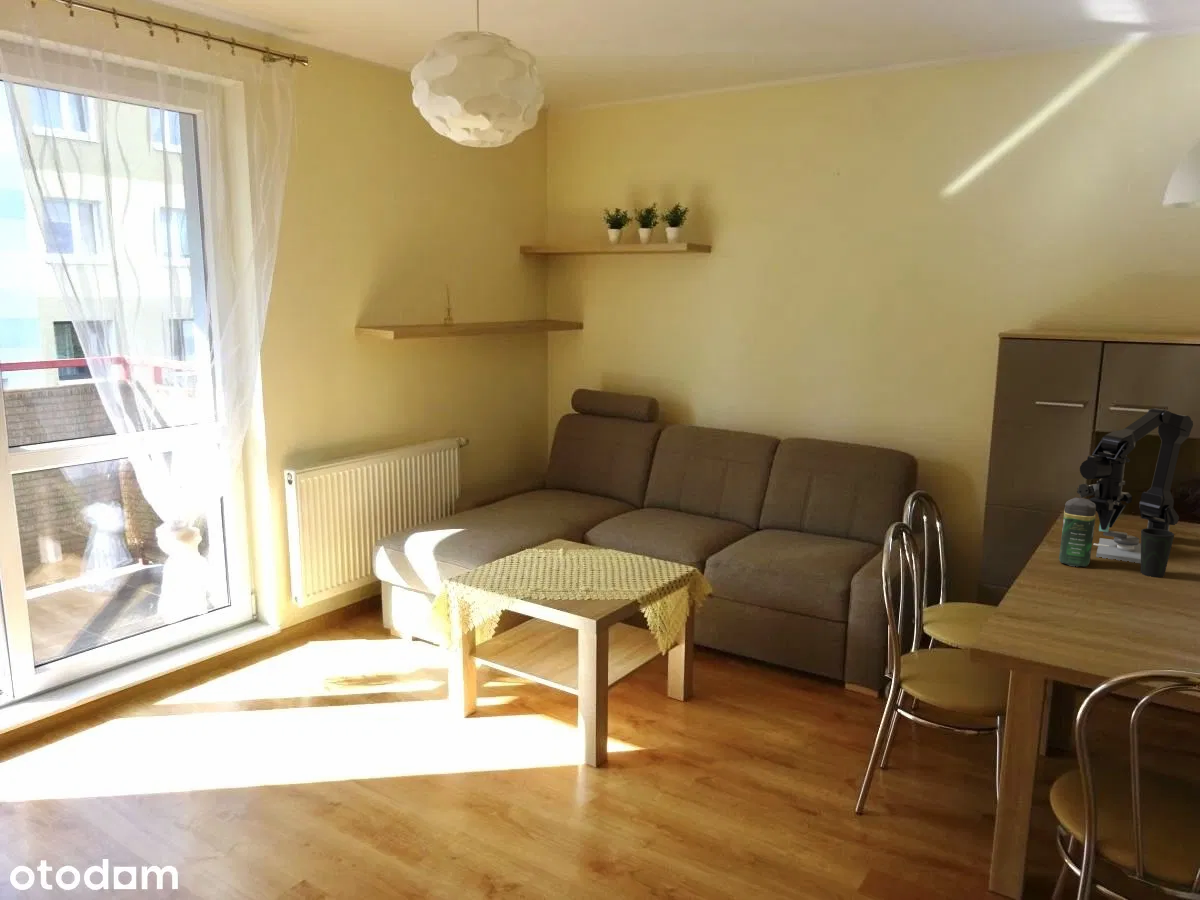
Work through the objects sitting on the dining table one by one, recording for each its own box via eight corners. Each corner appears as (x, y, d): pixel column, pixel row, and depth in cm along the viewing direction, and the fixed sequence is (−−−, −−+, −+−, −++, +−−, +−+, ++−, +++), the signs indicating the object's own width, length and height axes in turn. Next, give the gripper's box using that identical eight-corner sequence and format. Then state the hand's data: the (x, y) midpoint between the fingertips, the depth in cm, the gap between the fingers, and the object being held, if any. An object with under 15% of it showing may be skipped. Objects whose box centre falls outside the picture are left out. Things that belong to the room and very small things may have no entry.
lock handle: (1099, 535, 266) (1102, 511, 264) (1139, 541, 260) (1142, 516, 259) (1097, 540, 261) (1100, 516, 259) (1138, 546, 255) (1141, 521, 254)
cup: (1167, 580, 236) (1172, 537, 234) (1134, 574, 241) (1139, 532, 238) (1170, 573, 242) (1175, 531, 240) (1138, 567, 247) (1143, 526, 244)
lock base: (1094, 541, 272) (1095, 531, 271) (1152, 548, 264) (1153, 539, 263) (1091, 556, 257) (1092, 546, 256) (1152, 565, 249) (1153, 555, 248)
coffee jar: (1089, 569, 245) (1096, 505, 242) (1057, 564, 249) (1064, 501, 246) (1090, 560, 253) (1097, 497, 250) (1060, 555, 257) (1066, 494, 254)
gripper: (1095, 469, 272) (1090, 518, 274) (1070, 476, 260) (1065, 527, 262) (1135, 475, 263) (1129, 525, 266) (1111, 482, 251) (1105, 535, 254)
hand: (1106, 528), depth 262 cm, fingers open, 4 cm apart
